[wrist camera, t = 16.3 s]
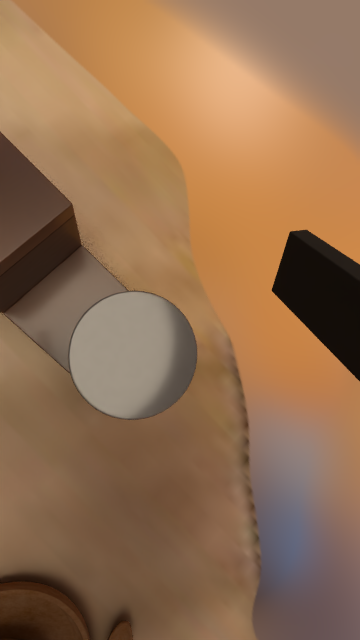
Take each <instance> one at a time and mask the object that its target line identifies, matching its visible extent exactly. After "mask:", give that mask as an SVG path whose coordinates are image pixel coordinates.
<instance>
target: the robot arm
mask: <svg viewBox="0 0 360 640" xmlns="http://www.w3.org/2000/svg"><path fill="white" fill-rule="evenodd" d="M272 292H273V293H274V294H275V295H277V297H278V298H279V299H280V300H281V301H282V302H283V303H284V304H285V305H286V306H287V307H288V308H289V309H290V310H291V311H292V312H293V313H294V314H295V315H296V316H297V317H298V318H299V319H300V320H301V321H302V322H303V323H304V324H305V325H306V327H308V328H309V330H310V331H311V332H312V333H313V334H314V335H315V336H316V337H317V338H318V339H319V340H320V341H321V342H322V343H323V344H324V345H325V346H326V347H327V348H328V349H329V350H330V351H331V352H332V353H333V354H334V355H335V356H336V357H337V358H338V359H339V360H340V362H342V364H343V365H344V366H345V367H346V368H347V369H348V370H349V371H350V372H351V373H352V374H353V375H354V376H355V377H356V378H357V379H358V380H359V381H360V265H359V264H358V263H356V262H355V261H353V260H352V259H350V258H349V257H347V256H346V255H344V254H342V253H341V252H340V251H338V250H336V249H335V248H334V247H332V246H330V245H329V244H327V243H326V242H324V241H323V240H321V239H320V238H318V237H317V236H315V235H313V234H312V233H311V232H309V231H308V230H300V231H291V232H290V233H289V237H288V240H287V243H286V246H285V249H284V253H283V256H282V259H281V262H280V265H279V269H278V272H277V275H276V278H275V281H274V285H273V288H272Z"/></svg>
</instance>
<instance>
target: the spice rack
mask: <svg viewBox="0 0 360 640" xmlns="http://www.w3.org/2000/svg"><path fill="white" fill-rule="evenodd" d="M124 291H128V290H127V289H126V288H125V287H124V286H123V285H122V284H121V283H120V282H119V281H118V280H117V279H116V278H115V277H114V276H113V275H112V274H111V273H110V272H109V271H108V270H107V269H106V268H105V267H104V266H103V265H102V264H101V263H100V262H99V261H98V260H97V259H96V258H95V257H94V256H93V255H92V254H91V253H90V252H89V251H88V250H87V249H86V248H84V247H83V246H82V245H81V241H80V236H79V232H78V227H77V223H76V218H75V214H74V209H73V205H72V203H71V202H70V201H69V200H68V199H67V198H66V197H65V196H64V195H63V194H62V193H61V192H60V191H59V190H58V189H57V188H56V187H55V186H54V185H53V184H52V183H51V182H50V181H49V180H48V179H47V178H46V177H45V176H44V175H43V174H42V173H41V172H40V171H39V170H38V169H37V168H36V167H35V166H34V165H33V164H32V163H31V162H30V161H29V160H28V159H27V158H26V157H25V156H24V155H23V154H22V153H21V152H20V151H19V150H18V149H17V148H16V147H15V146H14V145H13V144H12V143H11V142H10V141H9V140H8V139H7V138H6V137H5V136H4V135H3V134H2V133H1V132H0V312H2V313H4V315H5V316H7V317H8V318H9V319H10V320H11V321H12V322H13V323H14V324H15V325H17V326H18V327H19V328H20V329H21V330H22V331H23V332H24V333H25V334H27V335H28V336H29V337H30V338H31V339H32V340H33V341H34V342H35V343H36V344H38V345H39V346H40V347H41V348H42V349H43V350H44V351H45V352H46V353H48V354H49V355H50V356H51V357H52V358H53V359H54V360H55V361H56V362H58V363H59V364H60V365H61V366H62V367H63V368H64V369H65V370H66V371H68V372H69V373H70V370H69V366H68V348H69V343H70V338H71V336H72V333H73V330H74V328H75V326H76V324H77V323H78V321H79V320H80V318H81V317H82V315H83V314H84V313H85V312H86V311H87V310H88V309H89V308H90V307H91V306H93V305H94V304H95V303H96V302H98V301H100V300H101V299H103V298H105V297H107V296H109V295H112V294H115V293H118V292H124Z"/></svg>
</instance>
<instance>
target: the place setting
mask: <svg viewBox="0 0 360 640" xmlns="http://www.w3.org/2000/svg"><path fill="white" fill-rule="evenodd" d="M0 640H90V637H89V632H88V629H87V626H86V623H85V621H84V619H83V617H82V615H81V613H80V611H79V610H78V609H77V607H76V606H75V605H74V603H73V602H72V601H71V600H70V599H69V598H68V597H67V596H65V595H64V594H62V593H61V592H59V591H58V590H56V589H54V588H52V587H50V586H47V585H43V584H40V583H34V582H9V583H3V584H0ZM108 640H133V635H132V629H131V625H130V623H129V622H128V621H121V622H120V623H119V624H118V625H117V626H116V627H115V628H114V630H113V631H112V633H111V635H110V636H109V639H108Z"/></svg>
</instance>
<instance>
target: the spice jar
mask: <svg viewBox="0 0 360 640" xmlns="http://www.w3.org/2000/svg"><path fill="white" fill-rule="evenodd" d="M196 363H197V344H196V340H195V335H194V333H193V330H192V328H191V326H190V324H189V322H188V320H187V319H186V317H185V316H184V314H183V313H182V312H181V311H180V310H179V309H178V308H177V307H176V306H175V305H174V304H172V303H171V302H169V301H168V300H166V299H165V298H163V297H161V296H158V295H156V294H153V293H149V292H144V291H124V292H118V293H115V294H112V295H109V296H107V297H105V298H103V299H101V300H100V301H98V302H96V303H95V304H94V305H93V306H91V307H90V308H89V309H88V310H87V311H86V312H85V313H84V314H83V315H82V317H81V318H80V320H79V321H78V323H77V324H76V326H75V328H74V330H73V333H72V336H71V338H70V343H69V348H68V366H69V370H70V375H71V378H72V380H73V383H74V385H75V387H76V389H77V390H78V392H79V393H80V395H81V396H82V397H83V398H84V399H85V400H86V401H87V402H88V404H90V405H91V406H92V407H94V408H95V409H96V410H98V411H100V412H101V413H103V414H106V415H108V416H111V417H114V418H118V419H125V420H138V419H144V418H148V417H152V416H155V415H157V414H159V413H161V412H163V411H165V410H166V409H168V408H169V407H171V406H172V405H173V404H174V403H176V402H177V401H178V400H179V399H180V398H181V396H182V395H183V394H184V392H185V391H186V390H187V388H188V386H189V384H190V383H191V380H192V378H193V376H194V372H195V369H196Z"/></svg>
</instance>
